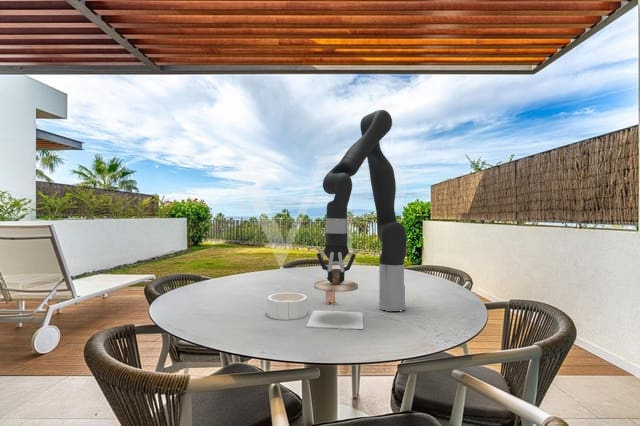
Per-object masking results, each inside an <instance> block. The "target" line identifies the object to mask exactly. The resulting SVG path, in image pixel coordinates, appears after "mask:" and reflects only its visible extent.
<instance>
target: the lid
mask: <svg viewBox="0 0 640 426" xmlns="http://www.w3.org/2000/svg"><path fill="white" fill-rule="evenodd" d="M340 272H341V269H340V268H332V283H330V281H328V280H327V279H324V280H318V281H316V282H314V283H313V288H314V289H315V290H318V291H322V292H326V291H328V292H335V293H345V292H353V291H356V290H358V289H359V284H358V283H357V282H356V281H350V280H345V279H344V281H342V283H340Z"/></svg>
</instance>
